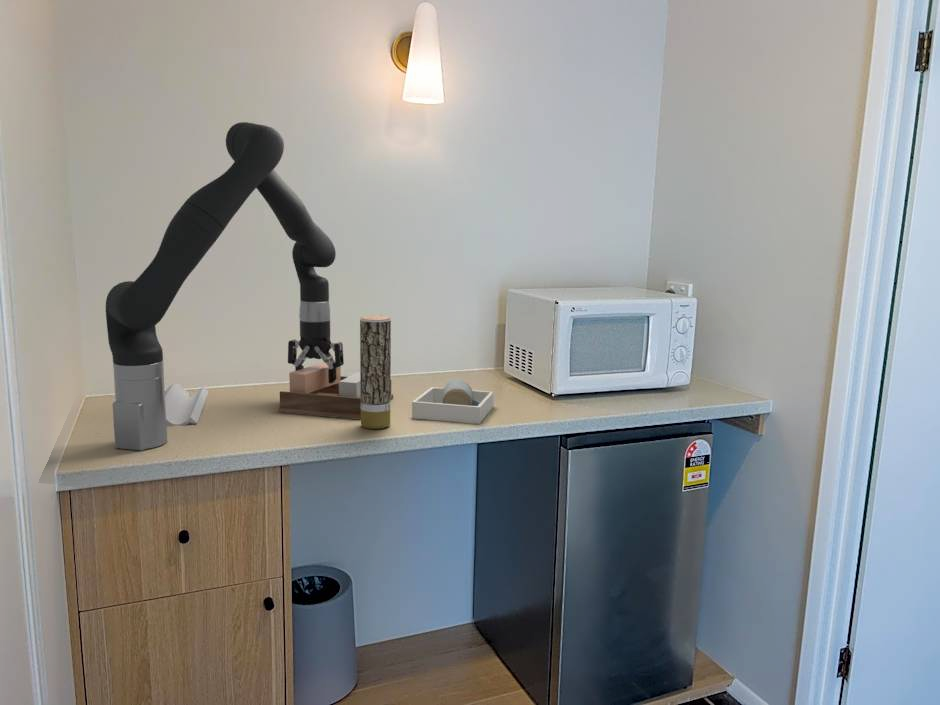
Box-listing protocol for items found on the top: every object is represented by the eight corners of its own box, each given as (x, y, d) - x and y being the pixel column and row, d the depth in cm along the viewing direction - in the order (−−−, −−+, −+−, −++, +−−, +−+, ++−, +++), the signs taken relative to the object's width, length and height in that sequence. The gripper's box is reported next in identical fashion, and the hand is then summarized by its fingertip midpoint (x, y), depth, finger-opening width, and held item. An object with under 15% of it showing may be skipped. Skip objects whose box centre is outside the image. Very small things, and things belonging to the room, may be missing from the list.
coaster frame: (479, 423, 169) (480, 407, 169) (411, 418, 173) (412, 401, 172) (493, 406, 185) (493, 391, 185) (431, 401, 189) (431, 387, 188)
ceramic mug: (441, 416, 175) (442, 385, 174) (442, 408, 183) (443, 378, 182) (485, 418, 175) (486, 387, 174) (483, 409, 183) (485, 380, 182)
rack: (362, 419, 171) (362, 398, 170) (277, 411, 176) (277, 391, 175) (393, 398, 192) (393, 379, 191) (316, 392, 197) (316, 374, 196)
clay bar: (326, 380, 193) (325, 361, 192) (340, 381, 191) (340, 363, 190) (289, 392, 178) (289, 372, 177) (305, 394, 176) (304, 374, 175)
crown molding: (196, 427, 164) (195, 412, 163) (139, 430, 161) (138, 414, 160) (208, 394, 193) (207, 381, 193) (160, 396, 190) (159, 383, 190)
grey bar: (356, 403, 174) (356, 382, 173) (339, 401, 175) (338, 381, 174) (379, 388, 189) (379, 370, 188) (363, 387, 190) (363, 369, 189)
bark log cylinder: (362, 430, 162) (362, 320, 157) (358, 422, 168) (358, 316, 164) (392, 429, 163) (393, 319, 159) (387, 421, 170) (387, 315, 165)
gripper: (347, 318, 183) (347, 380, 186) (295, 315, 186) (296, 376, 189) (335, 322, 176) (336, 386, 179) (281, 319, 179) (283, 382, 182)
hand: (315, 381), depth 184 cm, fingers open, 8 cm apart
